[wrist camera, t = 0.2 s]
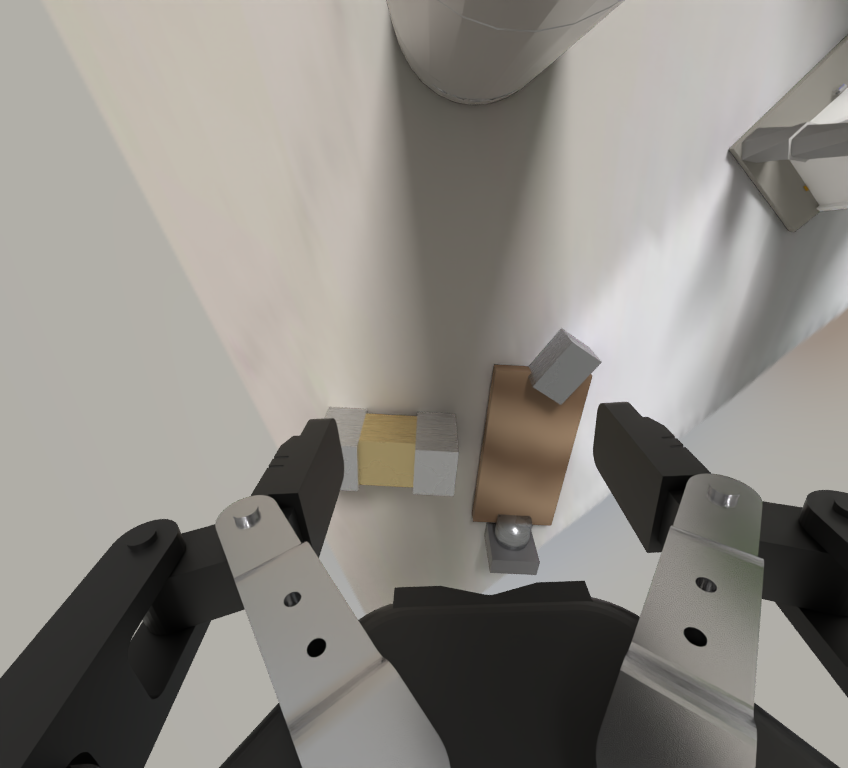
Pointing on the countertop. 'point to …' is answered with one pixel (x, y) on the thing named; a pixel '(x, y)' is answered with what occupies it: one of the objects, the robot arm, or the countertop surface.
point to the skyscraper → (803, 145)
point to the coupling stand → (529, 448)
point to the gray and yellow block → (398, 450)
